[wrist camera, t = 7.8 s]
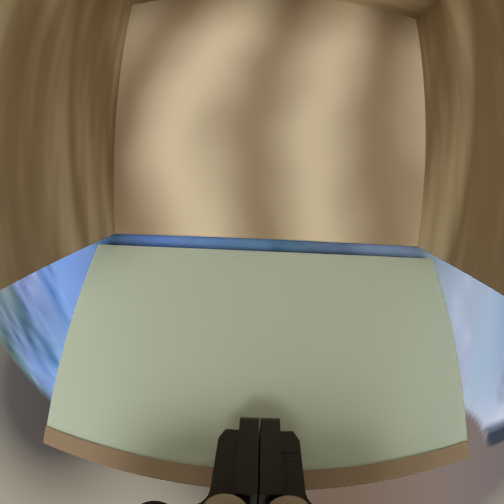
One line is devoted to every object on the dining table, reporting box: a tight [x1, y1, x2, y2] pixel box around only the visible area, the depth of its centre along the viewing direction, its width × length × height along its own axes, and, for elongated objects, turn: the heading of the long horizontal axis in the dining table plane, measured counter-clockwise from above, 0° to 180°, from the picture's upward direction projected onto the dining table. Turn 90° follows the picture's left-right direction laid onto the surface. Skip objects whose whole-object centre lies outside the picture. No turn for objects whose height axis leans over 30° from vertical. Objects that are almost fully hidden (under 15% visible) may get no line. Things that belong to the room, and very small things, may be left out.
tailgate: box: [44, 244, 469, 490], centre depth 13 cm, size 20×1×12 cm
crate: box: [0, 0, 504, 295], centre depth 10 cm, size 20×16×12 cm
